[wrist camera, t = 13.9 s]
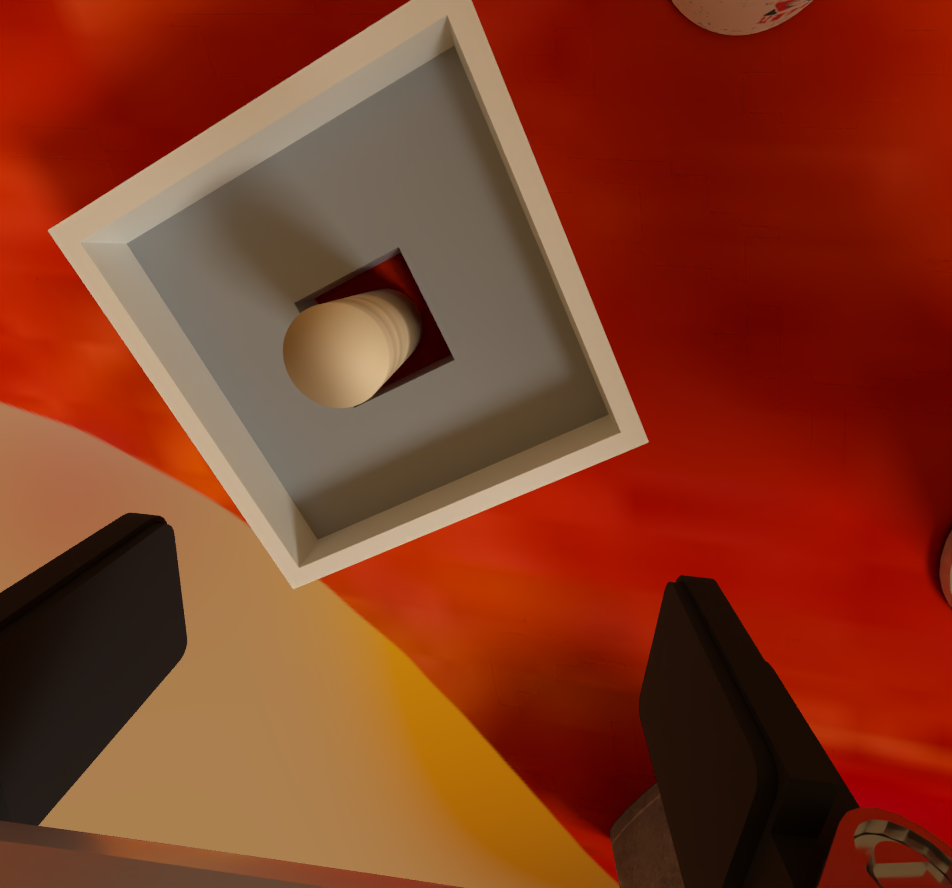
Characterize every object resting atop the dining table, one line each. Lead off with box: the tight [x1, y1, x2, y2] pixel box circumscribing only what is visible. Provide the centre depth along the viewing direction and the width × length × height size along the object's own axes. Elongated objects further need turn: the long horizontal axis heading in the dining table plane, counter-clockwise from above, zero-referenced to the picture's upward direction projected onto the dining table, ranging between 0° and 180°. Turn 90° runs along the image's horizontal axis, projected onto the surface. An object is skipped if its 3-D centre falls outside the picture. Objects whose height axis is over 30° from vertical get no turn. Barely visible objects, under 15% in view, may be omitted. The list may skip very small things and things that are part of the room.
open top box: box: [48, 0, 649, 589], centre depth 27 cm, size 20×20×6 cm
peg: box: [283, 288, 424, 408], centre depth 25 cm, size 4×4×10 cm
